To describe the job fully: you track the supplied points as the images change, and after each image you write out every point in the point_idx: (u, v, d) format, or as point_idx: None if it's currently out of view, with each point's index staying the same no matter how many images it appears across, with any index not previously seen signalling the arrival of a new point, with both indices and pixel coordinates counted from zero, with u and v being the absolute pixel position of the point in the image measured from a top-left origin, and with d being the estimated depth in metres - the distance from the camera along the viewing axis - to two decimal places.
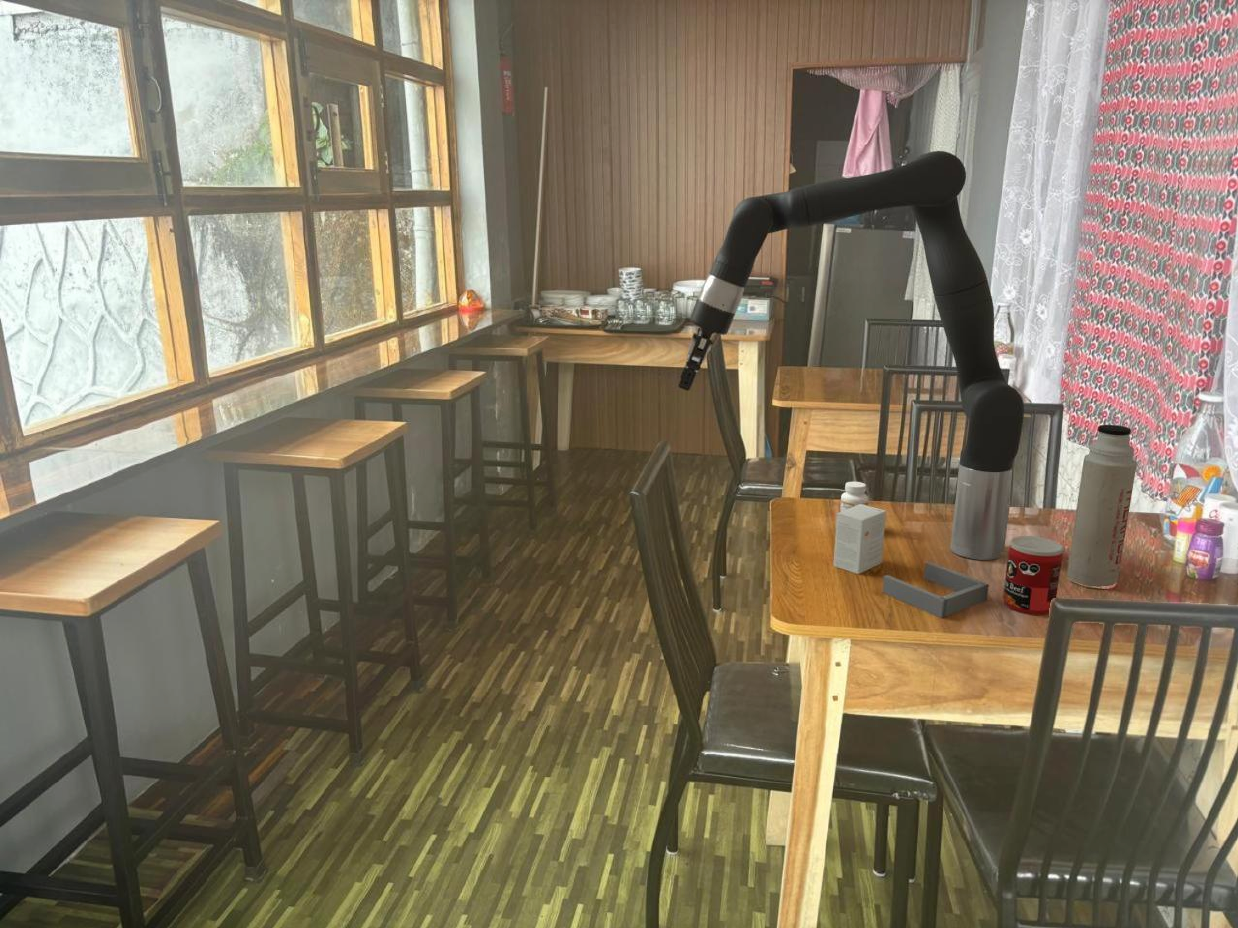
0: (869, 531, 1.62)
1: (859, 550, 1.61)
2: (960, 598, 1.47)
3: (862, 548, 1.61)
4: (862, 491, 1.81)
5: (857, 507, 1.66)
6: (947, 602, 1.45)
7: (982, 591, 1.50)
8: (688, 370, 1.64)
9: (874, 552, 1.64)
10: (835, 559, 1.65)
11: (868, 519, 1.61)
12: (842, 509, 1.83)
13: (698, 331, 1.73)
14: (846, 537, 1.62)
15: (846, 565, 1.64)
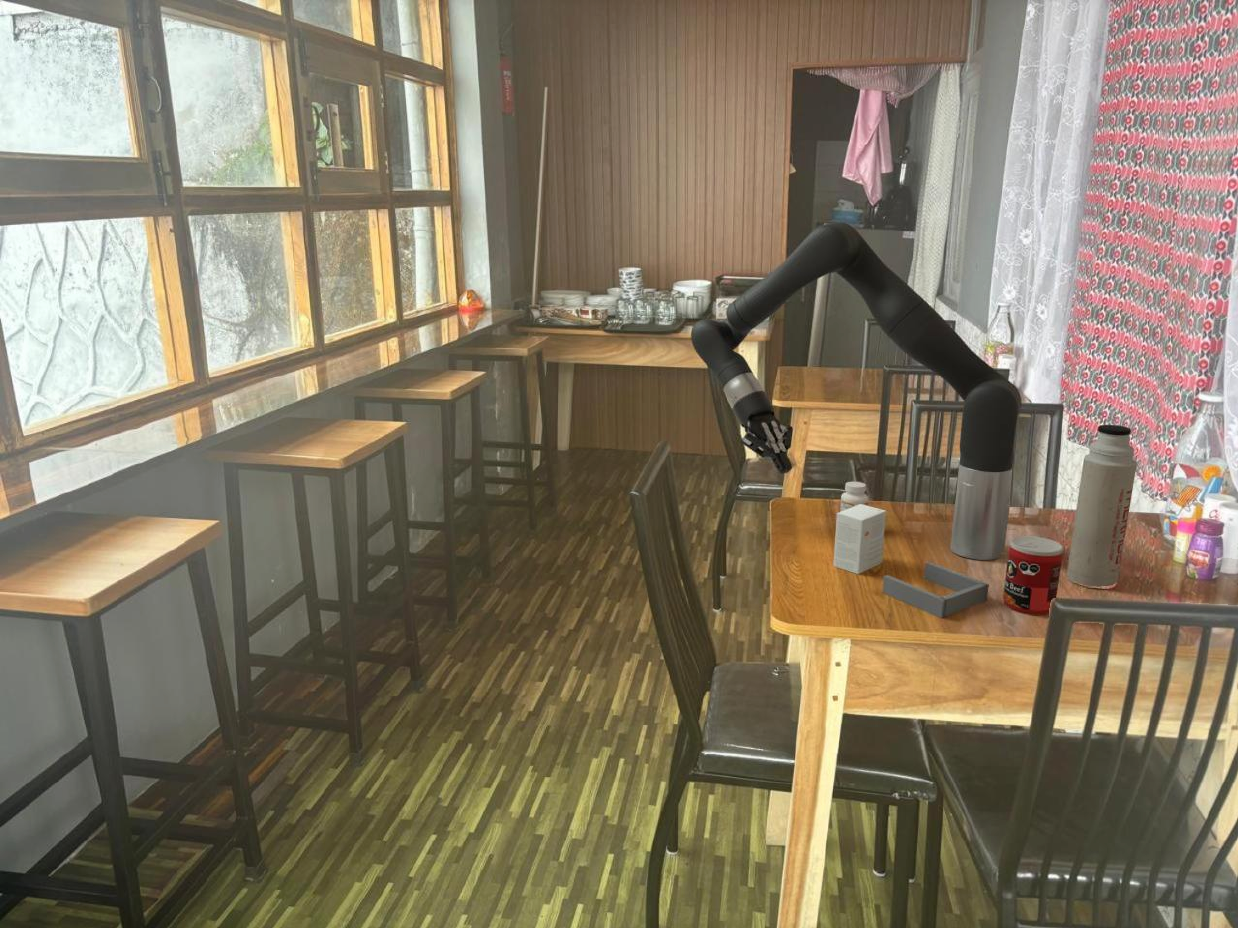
0: (869, 531, 1.62)
1: (859, 550, 1.61)
2: (960, 598, 1.47)
3: (862, 548, 1.61)
4: (862, 491, 1.81)
5: (857, 507, 1.66)
6: (947, 602, 1.45)
7: (982, 591, 1.50)
8: None
9: (874, 552, 1.64)
10: (835, 559, 1.65)
11: (868, 519, 1.61)
12: (842, 509, 1.83)
13: None
14: (846, 537, 1.62)
15: (846, 565, 1.64)
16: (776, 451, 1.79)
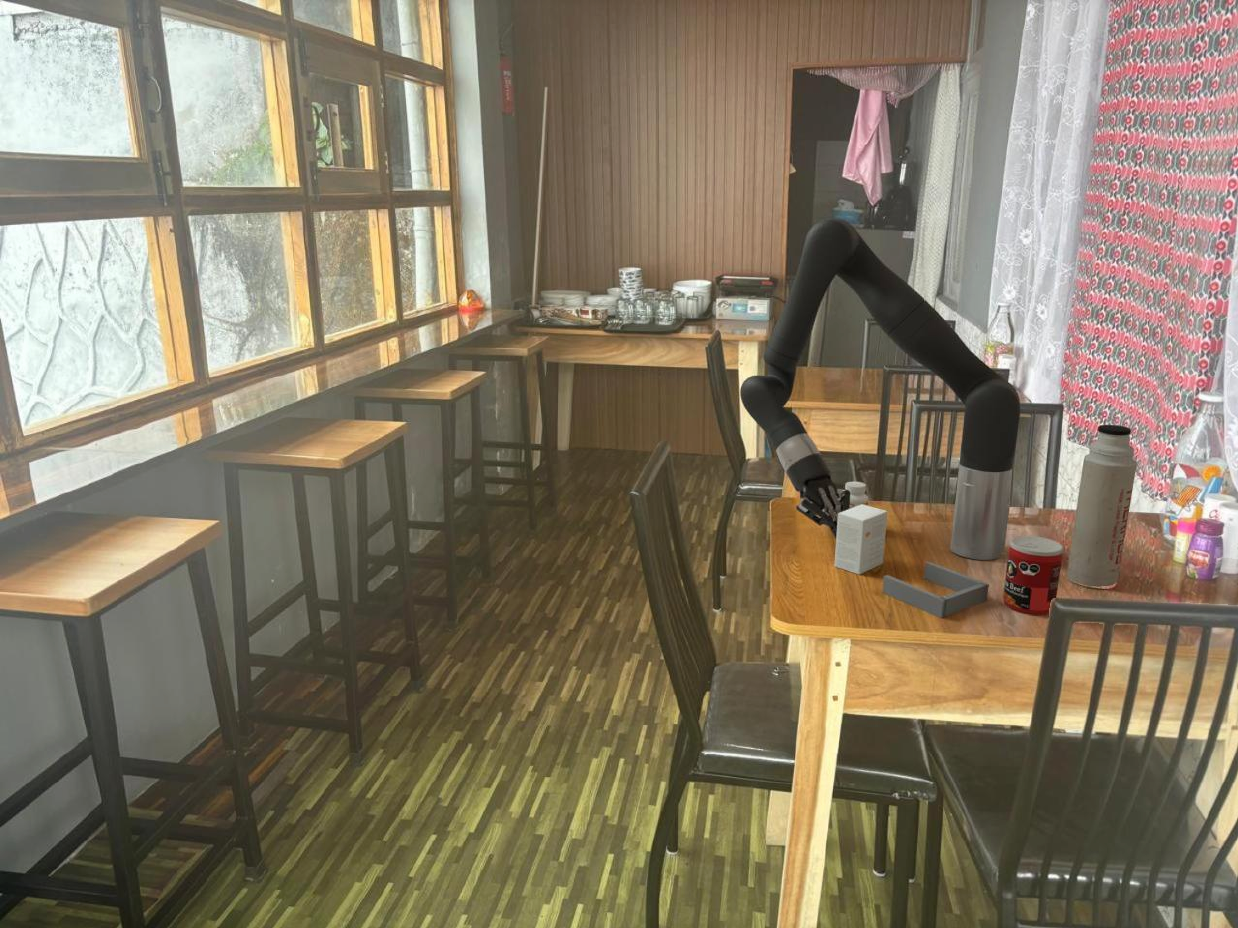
0: (870, 531, 1.61)
1: (860, 550, 1.61)
2: (960, 598, 1.47)
3: (863, 548, 1.61)
4: (862, 491, 1.81)
5: (858, 507, 1.66)
6: (947, 602, 1.45)
7: (982, 591, 1.50)
8: None
9: (875, 552, 1.64)
10: (836, 559, 1.65)
11: (869, 519, 1.60)
12: None
13: None
14: (847, 537, 1.62)
15: (847, 566, 1.63)
16: (834, 519, 1.68)
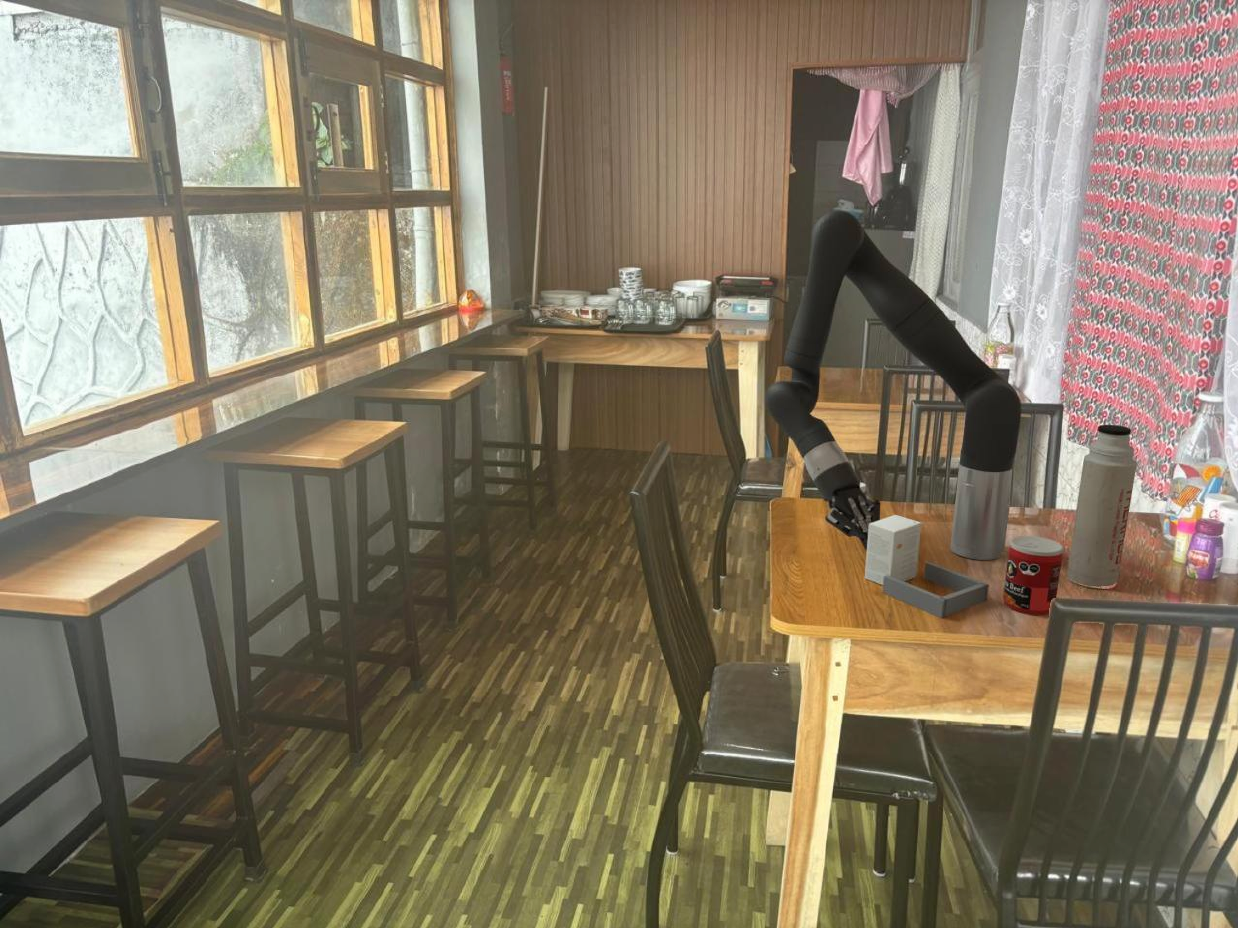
0: (902, 543, 1.56)
1: (891, 562, 1.55)
2: (960, 598, 1.47)
3: (894, 561, 1.55)
4: (862, 491, 1.81)
5: (891, 518, 1.60)
6: (947, 602, 1.45)
7: (982, 591, 1.50)
8: None
9: (907, 565, 1.58)
10: (866, 571, 1.60)
11: (901, 531, 1.55)
12: None
13: None
14: (878, 548, 1.57)
15: (877, 578, 1.58)
16: (865, 530, 1.62)
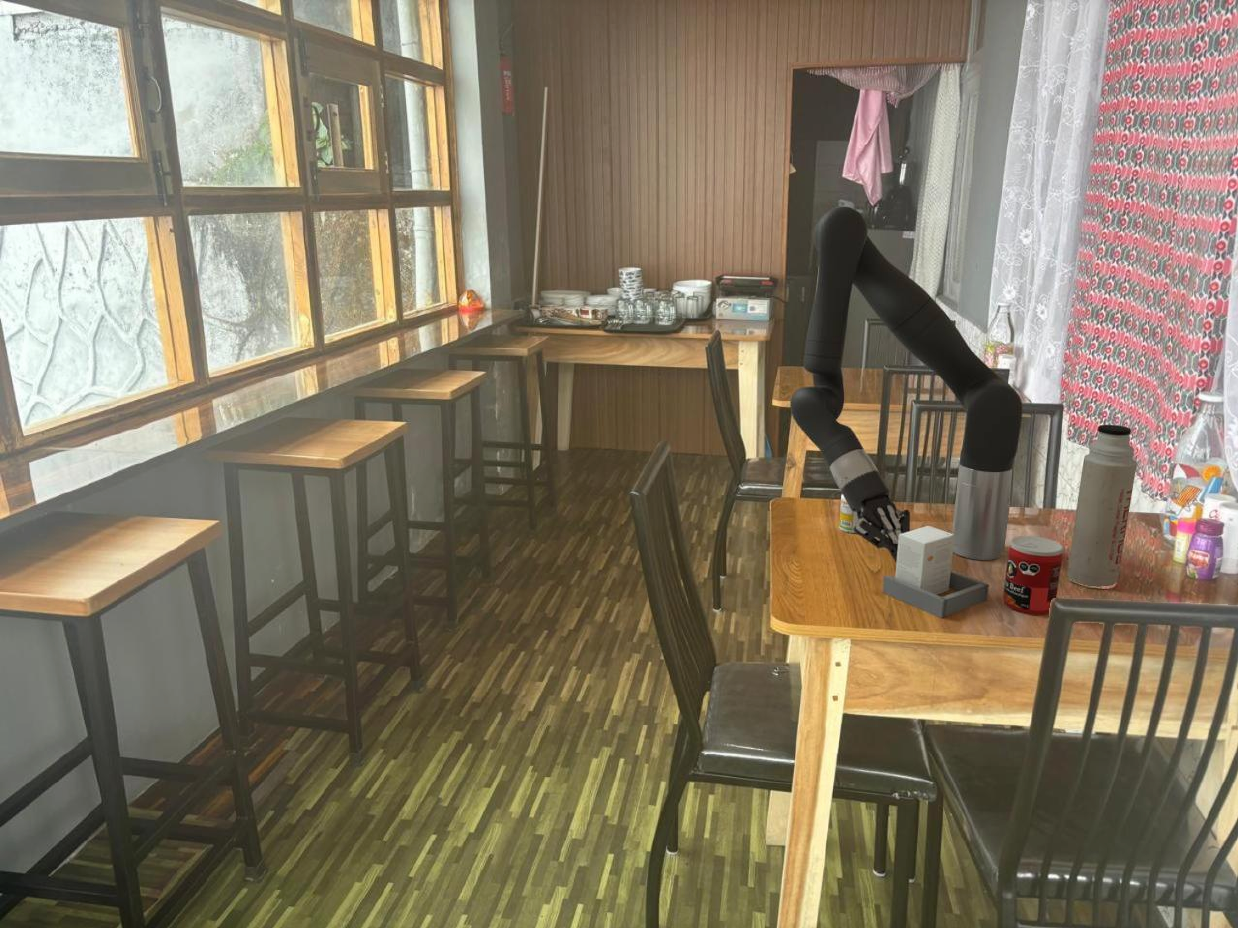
0: (933, 556, 1.50)
1: (921, 575, 1.50)
2: (960, 598, 1.47)
3: (925, 573, 1.50)
4: None
5: (923, 529, 1.54)
6: (947, 602, 1.45)
7: (982, 591, 1.50)
8: None
9: (939, 578, 1.53)
10: None
11: (933, 542, 1.49)
12: (842, 509, 1.83)
13: None
14: (907, 560, 1.51)
15: None
16: (895, 541, 1.57)
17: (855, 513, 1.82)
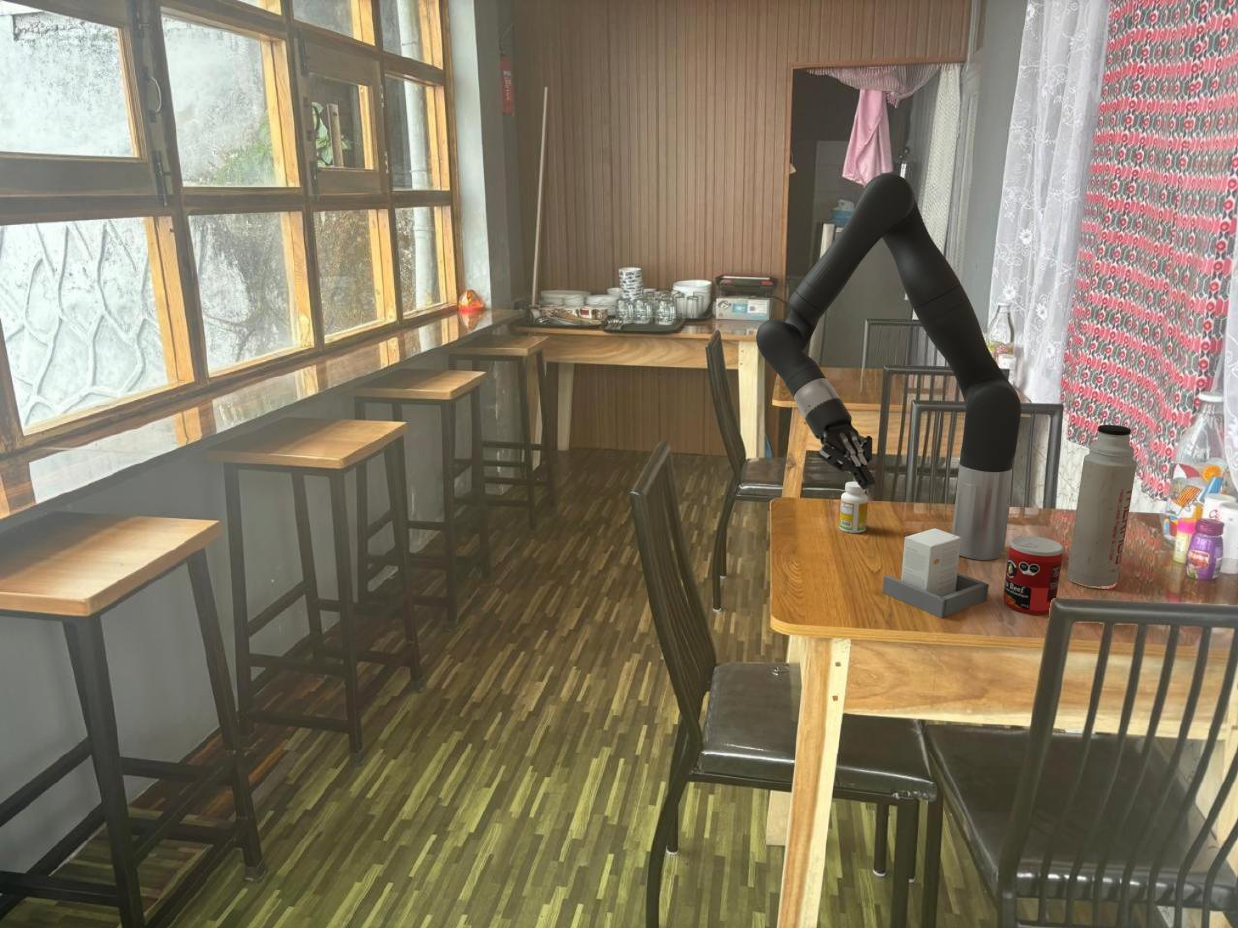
0: (939, 559, 1.49)
1: (927, 578, 1.48)
2: (960, 598, 1.47)
3: (931, 576, 1.49)
4: (862, 491, 1.81)
5: (929, 532, 1.53)
6: (947, 602, 1.45)
7: (982, 591, 1.50)
8: None
9: (945, 581, 1.51)
10: None
11: (939, 545, 1.48)
12: (842, 509, 1.83)
13: None
14: (913, 563, 1.50)
15: None
16: (857, 464, 1.61)
17: (855, 513, 1.82)
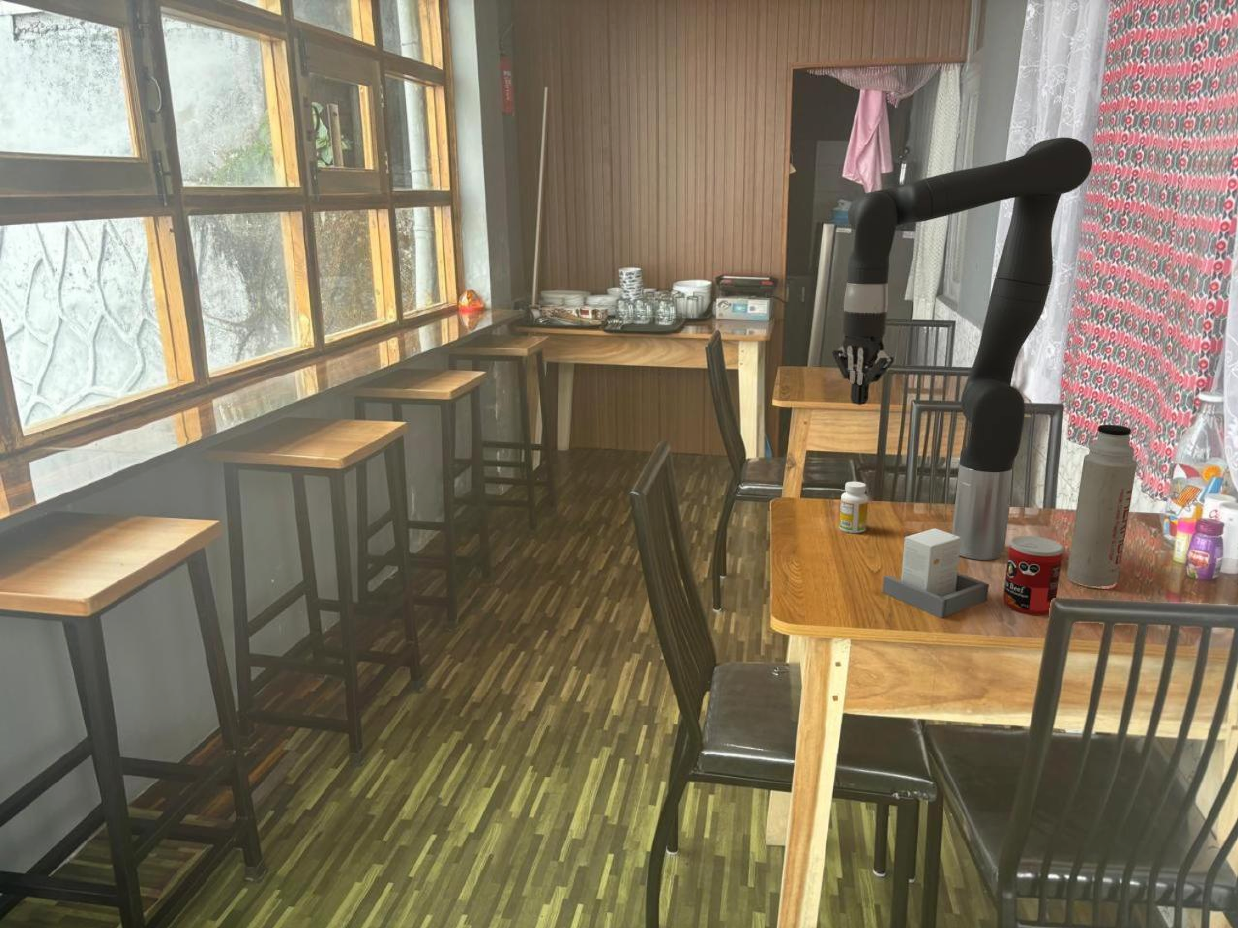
0: (939, 559, 1.49)
1: (927, 578, 1.48)
2: (960, 598, 1.47)
3: (931, 576, 1.49)
4: (862, 491, 1.81)
5: (929, 532, 1.53)
6: (947, 602, 1.45)
7: (982, 591, 1.50)
8: None
9: (945, 581, 1.51)
10: None
11: (939, 545, 1.48)
12: (842, 509, 1.83)
13: (837, 352, 1.67)
14: (913, 563, 1.50)
15: None
16: None
17: (855, 513, 1.82)
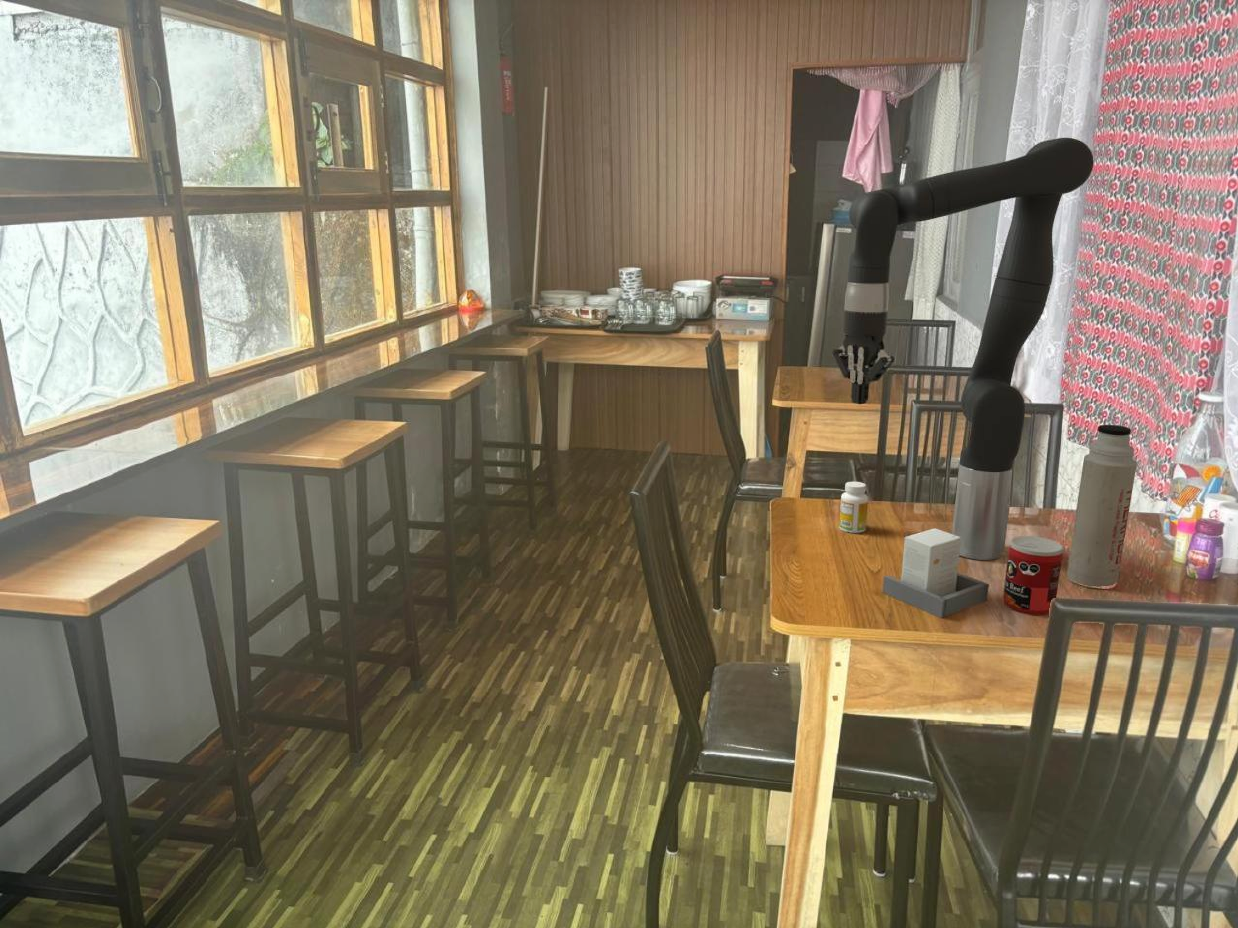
0: (939, 559, 1.49)
1: (927, 578, 1.48)
2: (960, 598, 1.47)
3: (931, 576, 1.49)
4: (862, 491, 1.81)
5: (929, 532, 1.53)
6: (947, 602, 1.45)
7: (982, 591, 1.50)
8: None
9: (945, 581, 1.51)
10: None
11: (939, 545, 1.48)
12: (842, 509, 1.83)
13: (837, 351, 1.67)
14: (913, 563, 1.50)
15: None
16: None
17: (855, 513, 1.82)
